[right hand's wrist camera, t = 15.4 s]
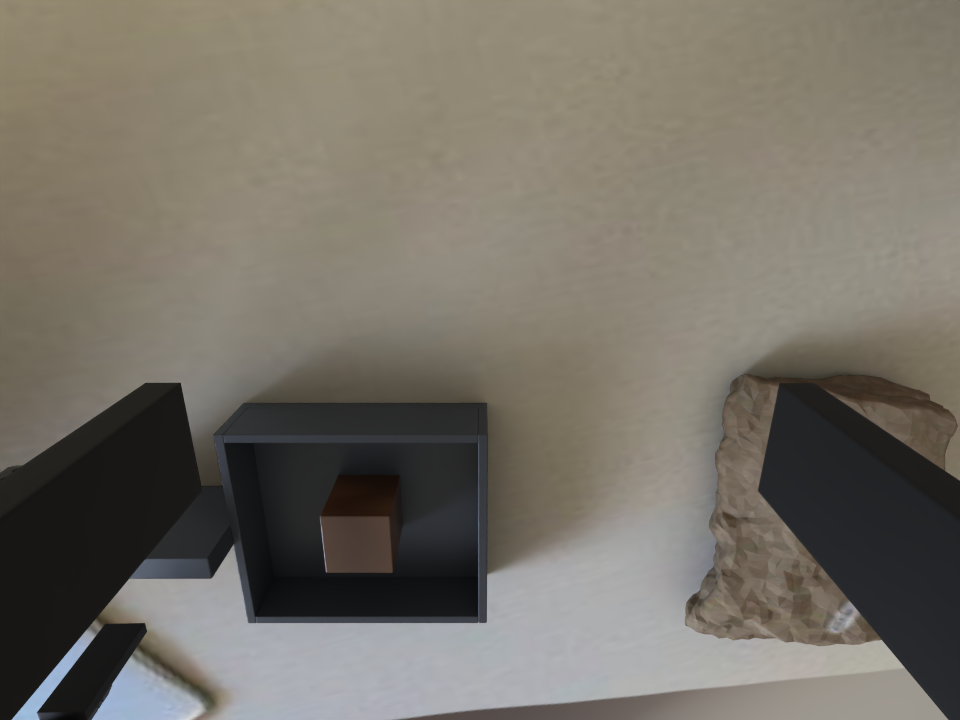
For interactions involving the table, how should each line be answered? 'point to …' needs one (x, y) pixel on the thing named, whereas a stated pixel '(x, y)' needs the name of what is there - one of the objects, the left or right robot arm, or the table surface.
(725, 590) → the stone
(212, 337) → the table surface
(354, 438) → the tray
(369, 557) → the block
